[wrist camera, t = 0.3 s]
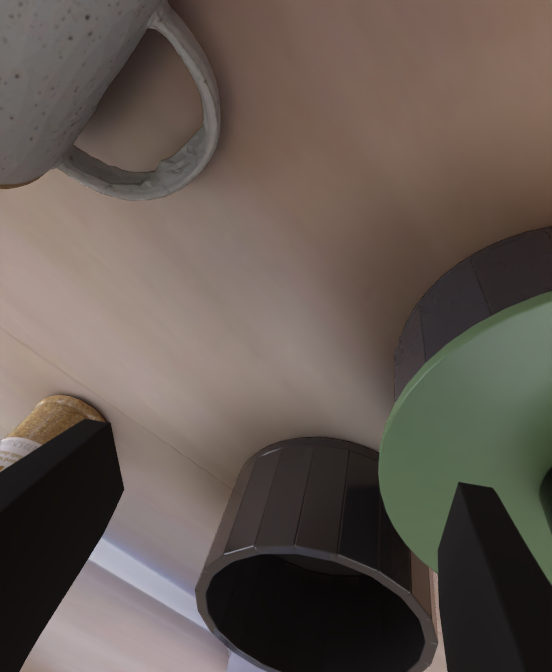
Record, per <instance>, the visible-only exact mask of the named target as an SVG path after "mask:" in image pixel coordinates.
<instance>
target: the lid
mask: <svg viewBox="0 0 552 672" xmlns="http://www.w3.org/2000/svg"><path fill="white" fill-rule="evenodd" d="M378 475H379V484H380V492H381V496H382V499H383V502H384V506H385V509H386V512H387V514H388V516H389V518H390V520H391V522H392V524H393V526H394V528H395V529H396V531H397V532H398V534H399V535H400V537H401V538H402V539H403V541H404V542H405V544H406V545H407V546H408V547H409V548H410V549H411V550H412V551H413V552H414V554H415V555H416V556H417V557H418V558H419V559H420V560H421V561H423V562H424V563H425V564H426V565H427V566H429V567H430V568H431V569H432V570H433V571H434V572H436V573H437V574H438V547H439V544H440V541H441V537H442V534H443V531H444V528H445V524H446V521H447V518H448V514H449V511H450V508H451V504H452V501H453V498H454V495H455V491H456V488H457V485H458V482H463V483H469V484H475V485H481V486H487V487H493V489H494V490H495V491H496V492H497V494H498V496H499V497H500V499H501V501H502V503H503V505H504V506H505V508H506V510H507V512H508V513H509V515H510V517H511V519H512V520H513V522H514V524H515V526H516V527H517V529H518V531H519V533H520V534H521V536H522V538H523V539H524V541H525V543H526V544H527V546H528V548H529V549H530V551H531V553H532V554H533V556H534V558H535V559H536V561H537V563H538V564H539V566H540V567H541V569H542V571H543V572H544V574H545V575H546V577H547V579H548V580H549V582H550V583H551V585H552V291H551V292H547V293H544V294H540V295H538V296H535V297H533V298H530V299H528V300H526V301H523V302H521V303H518V304H516V305H513V306H511V307H508V308H506V309H504V310H502V311H500V312H498V313H496V314H494V315H492V316H491V317H489V318H487V319H485V320H483V321H481V322H479V323H477V324H476V325H474V326H472V327H471V328H469V329H468V330H467V331H465V332H464V333H462V334H461V335H459V336H458V337H456V338H455V339H453V340H452V341H450V342H449V343H448V344H446V345H445V346H444V347H443V348H442V349H441V350H440V351H439V352H437V353H436V354H435V355H434V356H433V357H432V358H431V359H429V360H428V361H427V362H426V363H425V364H424V365H423V366H422V368H421V369H420V370H419V371H418V372H417V373H416V374H415V376H414V377H413V378H412V379H411V380H410V381H409V382H408V384H407V385H406V387H405V388H404V390H403V391H402V393H401V394H400V396H399V398H398V399H397V401H396V402H395V404H394V406H393V408H392V410H391V413H390V415H389V417H388V419H387V422H386V424H385V427H384V431H383V435H382V439H381V443H380V452H379V469H378Z"/></svg>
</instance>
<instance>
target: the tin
mask: <svg viewBox="0 0 552 672" xmlns="http://www.w3.org/2000/svg"><path fill="white" fill-rule="evenodd" d="M551 291H552V226H550V227H546V228H541V229H537V230H532V231H528V232H524V233H521V234H518V235H516V236H513V237H510V238H507V239H504V240H501V241H499V242H497V243H495V244H493V245H491V246H488V247H486V248H484V249H482V250H480V251H478V252H477V253H475V254H473V255H472V256H470V257H468V258H467V259H465V260H463V261H462V262H460V263H459V264H458V265H456V266H455V267H454V268H452V269H451V270H450V271H449V272H447V273H446V274H445V275H443V276H442V277H441V278H440V279H439V280H438V281H437V282H436V283H435V284H434V285H433V286H432V287H431V288H430V289H429V290H428V291H427V292H426V294H425V295H424V296H423V297H422V299H421V300H420V301H419V303H418V304H417V305H416V306H415V308H414V310H413V311H412V313H411V315H410V317H409V318H408V320H407V322H406V324H405V326H404V329H403V331H402V334H401V336H400V339H399V343H398V346H397V348H396V350H395V402H396V401H397V399H398V398H399V396H400V394H401V393H402V391H403V390H404V388H405V387H406V385H407V384H408V382H409V381H410V380H411V379H412V378H413V377H414V376H415V374H416V373H417V372H418V371H419V370H420V369H421V368H422V366H423V365H424V364H425V363H426V362H427V361H428V360H429V359H431V358H432V357H433V356H434V355H435V354H436V353H437V352H439V351H440V350H441V349H442V348H443V347H444V346H445V345H446V344H448V343H449V342H450V341H452V340H453V339H455V338H456V337H458V336H459V335H461V334H462V333H464V332H465V331H467V330H468V329H469V328H471V327H472V326H474V325H476V324H477V323H479V322H481V321H483V320H485V319H487V318H489V317H491V316H492V315H494V314H496V313H498V312H500V311H502V310H504V309H506V308H508V307H511V306H513V305H516V304H518V303H521V302H523V301H526V300H528V299H530V298H533V297H535V296H538V295H540V294H544V293H547V292H551Z"/></svg>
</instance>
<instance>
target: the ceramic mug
mask: <svg viewBox="0 0 552 672" xmlns="http://www.w3.org/2000/svg"><path fill="white" fill-rule="evenodd" d="M147 28H150V29H156V30H158V31H159V32H160V33H161V34H163V35H164V36H165V37H166V38H167V39H168V40H169V41H170V43H171V44H172V45H173V46H174V48H175V50H176V52H177V54H178V55H179V56H180V57H181V59H182V60H183V62H184V63H185V65H186V67H187V69H188V70H189V72H190V74H191V75H192V77H193V79H194V80H195V82H196V84H197V87H198V90H199V92H200V95H201V101H202V107H203V111H204V118H203V120H204V124H203V126H202V128H201V129H199V130H198V131H197V132H196V133H195V134H194V135H193V137H192V138H191V139H190V140H189V141H188V142H187V143H186V145H185V146H184V147H183V148H182V149H181V150H179V151H178V152H177V153H176V154H175V155H173V156H172V157H171V158H169V159H165V160H161V162H160V163H159V165H158V166H157V169H156V171H154V172H149V173H148V172H130V171H126V170H122V169H120V168H118V167H116V166H110V165H107V164H106V163H104V162H102V161H100V160H98V159H96V158H94V157H92V156H90V155H88V154H87V153H85V152H84V151H82V150H80V149H79V148H77V147H76V146H75V145H74V144H73V143H74V142H75V140H76V138H77V137H78V135H79V134H80V132H81V131H82V130H83V128H84V126H85V125H86V123H87V121H88V120H89V118H90V117H91V116H92V115H93V113H94V112H95V111H96V109H97V107H98V102H99V100H100V99H101V97H102V96H103V94H104V92H105V91H106V89H107V88H108V86H109V85H110V84H111V82H112V81H113V80H114V78H115V77H116V76H117V74H118V73H119V72H120V70H121V69H122V68H123V66H124V65H125V63H126V62H127V60H128V59H129V57H130V55H131V54H132V53H133V52H134V50H135V48H136V46H137V45H138V43H139V42H140V40H141V38H142V37H143V36H144V35H145V33H146V30H147ZM220 115H221V106H220V96H219V92H218V87H217V82H216V79H215V76H214V73H213V70H212V68H211V65H210V63H209V61H208V58H207V57H206V55H205V53H204V52H203V50H202V48H201V46H200V45H199V43H198V41H197V40H196V39H195V37H194V36H193V34H192V33H191V31H190V30H189V29H188V27H187V26H186V24H185V23H184V21H183V20H182V19H181V17H180V16H179V15H178V14H177V13H176V12H175V11H174V10H173V9H172V8H171V7H170V5H169V3H168V1H167V0H0V189H10V188H17V187H20V186H24V185H27V184H30V183H31V182H33V181H35V180H37V179H39V178H40V177H41V176H43V175H44V174H45V173H46V172H48V171H49V170H50V169H55V168H57V169H59V170H61V171H63V172H64V173H65V174H66V175H68V176H69V177H70V178H72V179H74V180H76V181H77V182H79V183H81V184H82V185H84V186H86V187H89V188H91V189H93V190H95V191H97V192H99V193H101V194H105V195H109V196H112V197H116V198H120V199H123V200H130V201H137V200H151V199H156V198H161V197H166V196H168V195H170V194H172V193H174V192H176V191H178V190H180V189H182V188H183V187H185V186H186V185H187V184H189V183H190V182H191V181H192V180H193V179H194V178H195V177H196V176H197V175H198V174H199V173H200V172H201V171H202V170H203V169H204V168H205V167H206V166H207V164H208V162H209V161H210V159H211V157H212V156H213V154H214V152H215V150H216V147H217V145H218V140H219V133H220V126H221V118H220Z"/></svg>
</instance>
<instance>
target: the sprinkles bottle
mask: <svg viewBox="0 0 552 672" xmlns="http://www.w3.org/2000/svg"><path fill="white" fill-rule="evenodd" d="M83 419H91V420H97V421H103V422H105V420H104V419H103V418H102V417H101V415H100V414H99V413H98V412H97V411H96V410H95V409H94V408H92V407H91V406H89V405H87V404H85V403H84V402H82V401H81V400H80V399H75V398H73V397H70V396H65V395H55V396H51V397H47V398H44V399H43V400H41V401H40V402H39V403H38V404H37V405H36V406H35V408H34V409H33V412H32V413H31V414H30V415H29V416H28V417H26V418H25V419H24V420H23V421H22V422H21V423H20V424H19V425H18V426H17V427H16V428H15V429H14V430H13V431H12V432H11V433H10V434H8V435H7V436H6V437H5V438H4V439H3V440H1V441H0V472H1V471H2V470H4V469H5V468H7V467H9V466H10V465H12V464H13V463H15V462H16V461H18V460H20V459H21V458H23V457H24V456H26V455H28V454H29V453H31V452H32V451H34V450H35V449H37V448H38V447H40V446H42V445H43V444H45V443H46V442H48V441H49V440H51V439H53V438H54V437H56V436H57V435H59V434H60V433H62V432H64V431H65V430H67V429H68V428H70V427H72V426H73V425H75V424H77V423H78V422H80V421H82V420H83Z"/></svg>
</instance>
